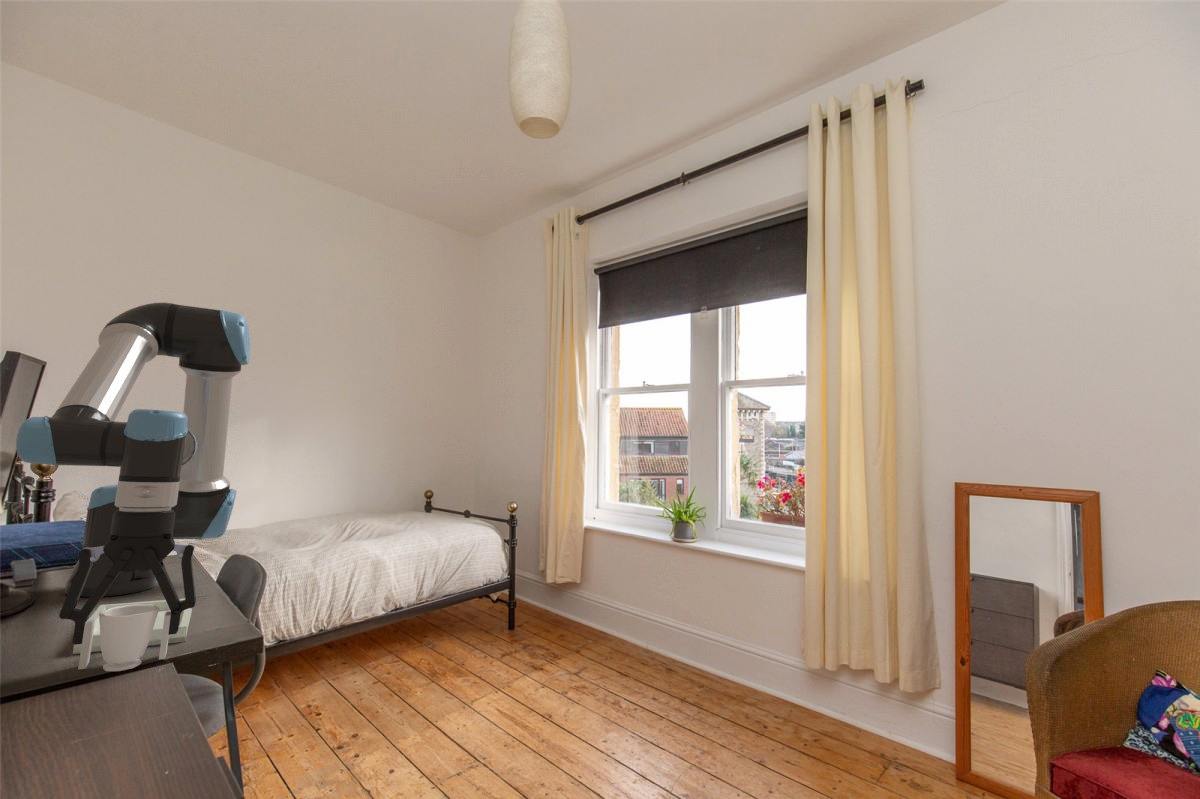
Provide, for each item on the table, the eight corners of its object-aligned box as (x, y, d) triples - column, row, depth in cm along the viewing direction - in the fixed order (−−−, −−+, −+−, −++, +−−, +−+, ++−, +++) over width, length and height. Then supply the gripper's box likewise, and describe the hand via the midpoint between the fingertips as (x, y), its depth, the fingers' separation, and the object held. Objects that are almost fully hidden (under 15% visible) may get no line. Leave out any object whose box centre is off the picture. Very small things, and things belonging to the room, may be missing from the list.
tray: (98, 618, 101) (100, 605, 102) (191, 610, 109) (193, 597, 109) (72, 654, 85) (75, 637, 85) (185, 641, 93) (187, 626, 93)
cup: (84, 678, 77) (93, 618, 78) (101, 654, 85) (109, 601, 86) (148, 670, 81) (155, 613, 81) (158, 648, 89) (165, 597, 90)
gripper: (44, 511, 76) (17, 682, 74) (227, 510, 88) (209, 658, 86) (58, 506, 83) (33, 664, 80) (227, 506, 94) (210, 643, 92)
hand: (124, 660), depth 83 cm, fingers open, 8 cm apart
